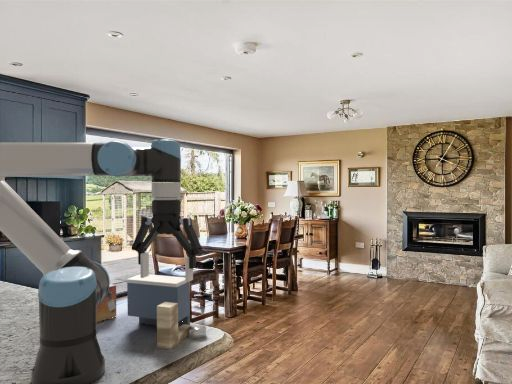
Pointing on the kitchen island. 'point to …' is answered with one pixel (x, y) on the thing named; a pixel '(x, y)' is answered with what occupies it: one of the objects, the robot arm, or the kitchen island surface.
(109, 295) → the small box
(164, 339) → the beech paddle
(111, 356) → the kitchen island surface
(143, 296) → the navy cabinet
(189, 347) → the kitchen island surface
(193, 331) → the steel token
